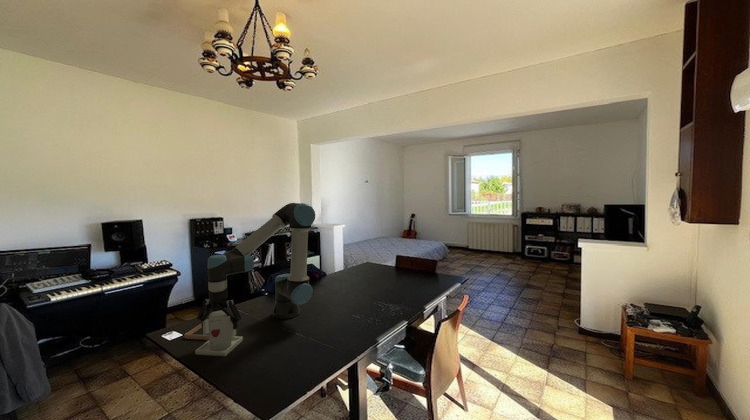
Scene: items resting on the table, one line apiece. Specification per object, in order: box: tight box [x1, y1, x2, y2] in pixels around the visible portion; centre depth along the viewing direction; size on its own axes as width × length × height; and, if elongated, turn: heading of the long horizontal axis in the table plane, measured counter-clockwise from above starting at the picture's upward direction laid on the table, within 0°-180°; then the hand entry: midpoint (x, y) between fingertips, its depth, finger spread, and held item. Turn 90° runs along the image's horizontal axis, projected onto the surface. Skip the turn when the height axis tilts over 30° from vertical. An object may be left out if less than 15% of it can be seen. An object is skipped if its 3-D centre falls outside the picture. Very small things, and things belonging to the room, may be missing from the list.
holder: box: [183, 320, 209, 341], centre depth 152 cm, size 15×15×2 cm
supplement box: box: [208, 310, 232, 351], centre depth 137 cm, size 9×9×15 cm
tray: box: [194, 335, 244, 357], centre depth 137 cm, size 14×14×2 cm
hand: (219, 335), depth 137 cm, fingers open, 13 cm apart
